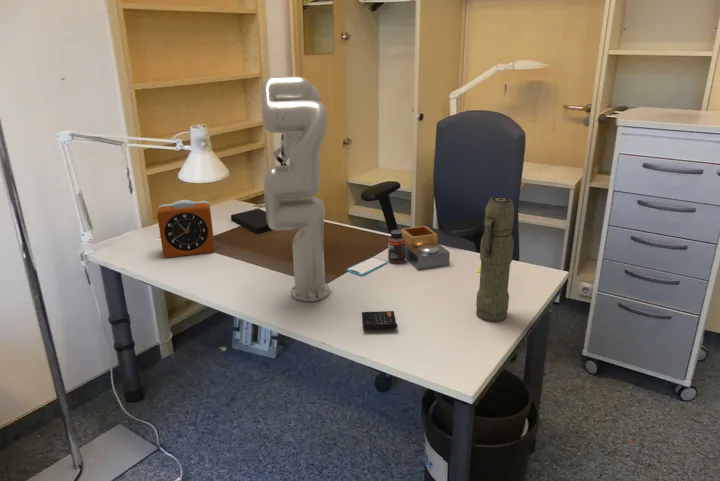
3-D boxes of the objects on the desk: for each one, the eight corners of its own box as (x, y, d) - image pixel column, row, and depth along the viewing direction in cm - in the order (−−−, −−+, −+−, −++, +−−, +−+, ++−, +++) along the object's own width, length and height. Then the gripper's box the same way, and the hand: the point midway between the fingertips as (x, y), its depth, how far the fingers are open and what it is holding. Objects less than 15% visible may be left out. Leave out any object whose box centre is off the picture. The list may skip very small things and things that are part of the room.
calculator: (393, 313, 161) (393, 304, 160) (397, 334, 150) (397, 324, 149) (362, 314, 160) (361, 305, 159) (363, 335, 150) (363, 325, 148)
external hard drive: (257, 235, 224) (257, 228, 223) (231, 221, 241) (230, 215, 240) (286, 227, 232) (286, 220, 231) (259, 214, 249) (259, 208, 248)
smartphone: (389, 261, 194) (362, 274, 184) (389, 264, 195) (362, 277, 184) (372, 256, 199) (345, 269, 188) (372, 259, 199) (345, 272, 188)
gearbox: (449, 265, 191) (450, 241, 188) (417, 270, 188) (418, 246, 185) (425, 245, 209) (425, 223, 206) (396, 249, 206) (396, 227, 202)
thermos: (514, 311, 160) (525, 196, 147) (496, 327, 151) (506, 207, 139) (486, 302, 165) (495, 191, 152) (467, 318, 156) (475, 201, 144)
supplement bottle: (404, 258, 198) (405, 228, 194) (404, 264, 193) (405, 234, 189) (388, 257, 199) (388, 228, 195) (387, 264, 193) (387, 234, 189)
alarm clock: (163, 258, 201) (155, 205, 194) (165, 250, 209) (157, 199, 201) (215, 253, 206) (208, 201, 198) (214, 244, 213) (208, 194, 206)
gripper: (276, 129, 186) (279, 177, 192) (320, 123, 195) (322, 170, 201) (267, 126, 192) (270, 173, 198) (310, 121, 201) (312, 167, 207)
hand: (296, 172), depth 199 cm, fingers open, 9 cm apart
